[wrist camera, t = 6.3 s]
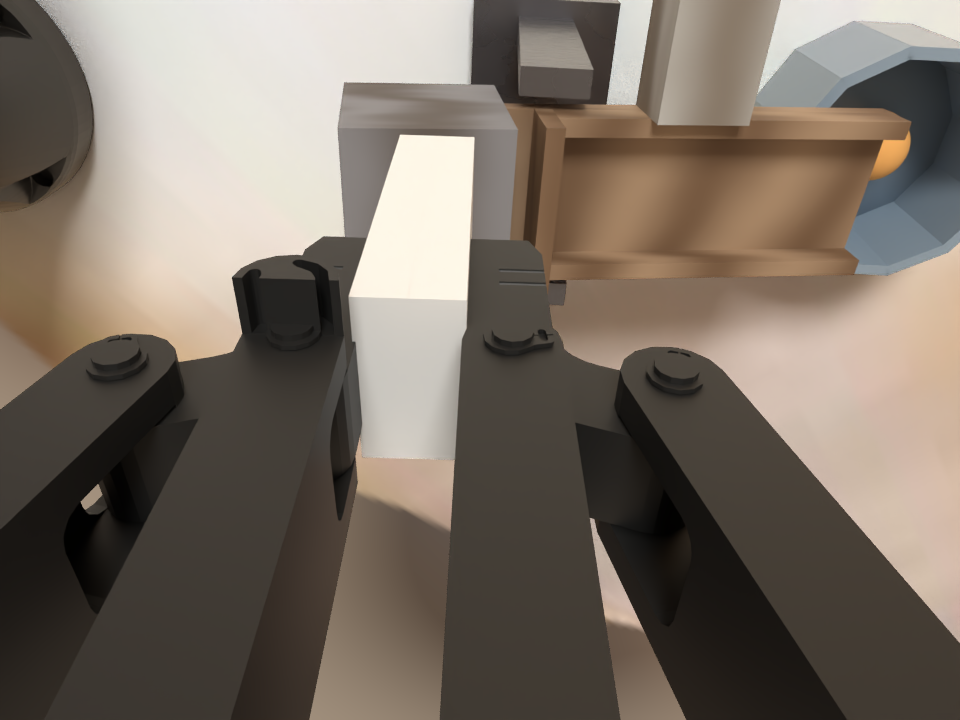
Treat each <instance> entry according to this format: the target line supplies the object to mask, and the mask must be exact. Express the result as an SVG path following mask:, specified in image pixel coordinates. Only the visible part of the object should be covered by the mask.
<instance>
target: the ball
mask: <svg viewBox="0 0 960 720" xmlns="http://www.w3.org/2000/svg"><path fill="white" fill-rule="evenodd" d="M890 112H891V111H890ZM892 113H893V112H892ZM894 114H895V113H894ZM896 115H897V114H896ZM910 143H911V137H910V131H908V134H907V136H906V139H905V140H883V143H882V146H881V148H880V151H879V154H878V157H877V160H876V162H875V165H874V168H873V171H872V173H871V176H870V179H869V181H870V180H876V179H880V178H883V177H885V176H887V175H889V174H891V173H892V172H893V171H895V170H896V169H897V168H898V167H899V166H900V165H901V164H902V163H903V161H904V160H905V158H906V156H907V154H908V152H909V148H910Z"/></svg>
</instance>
